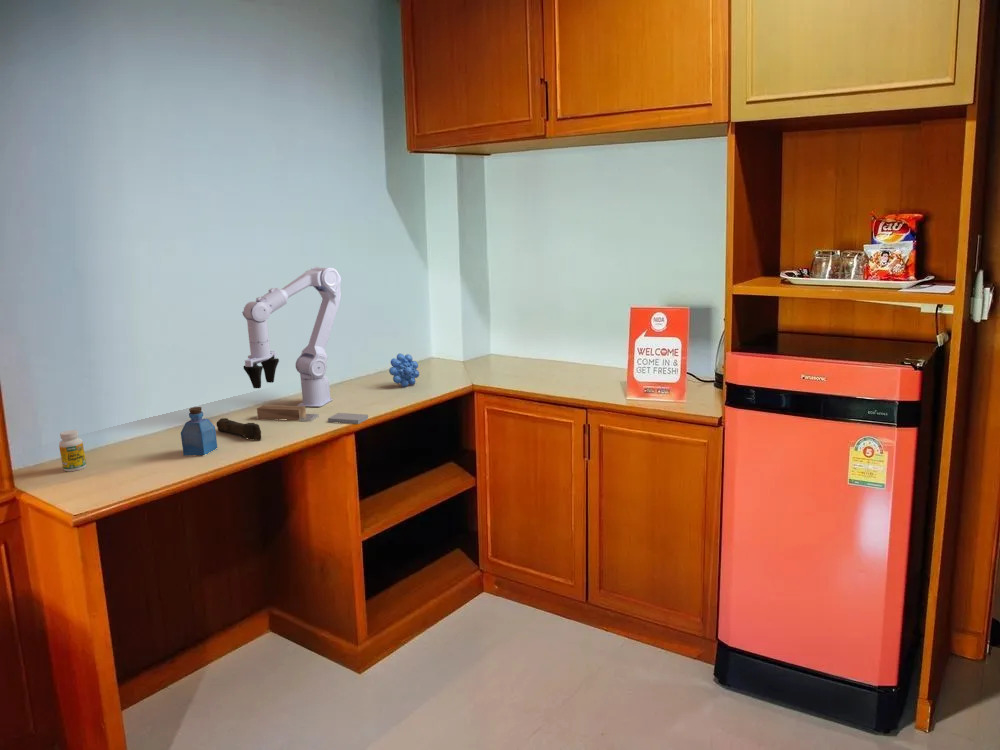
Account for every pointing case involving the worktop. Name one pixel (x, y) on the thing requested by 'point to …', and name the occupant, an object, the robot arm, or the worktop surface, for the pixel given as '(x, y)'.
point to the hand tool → (240, 428)
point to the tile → (348, 418)
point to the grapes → (404, 370)
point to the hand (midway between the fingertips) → (263, 385)
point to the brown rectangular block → (285, 413)
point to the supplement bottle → (72, 451)
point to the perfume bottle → (198, 434)
